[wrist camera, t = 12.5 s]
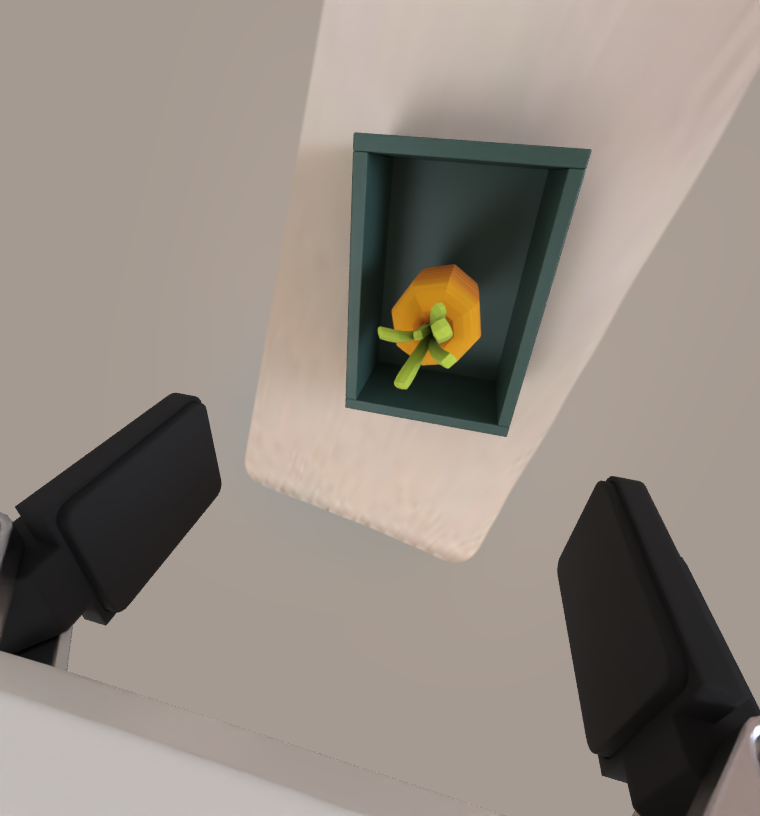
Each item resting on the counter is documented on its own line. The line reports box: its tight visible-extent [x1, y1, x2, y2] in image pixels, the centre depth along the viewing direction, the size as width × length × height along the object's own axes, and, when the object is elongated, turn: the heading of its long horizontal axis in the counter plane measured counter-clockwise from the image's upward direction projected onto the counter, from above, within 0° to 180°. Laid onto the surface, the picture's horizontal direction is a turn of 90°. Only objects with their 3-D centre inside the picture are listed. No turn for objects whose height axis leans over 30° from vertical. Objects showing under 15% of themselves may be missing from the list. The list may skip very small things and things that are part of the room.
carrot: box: [378, 264, 481, 389], centre depth 23 cm, size 5×5×15 cm
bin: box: [345, 133, 591, 437], centre depth 27 cm, size 17×12×8 cm
